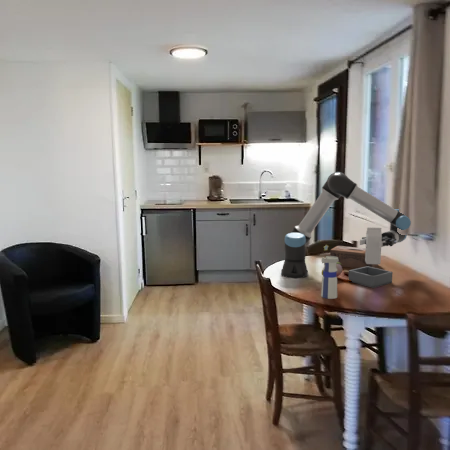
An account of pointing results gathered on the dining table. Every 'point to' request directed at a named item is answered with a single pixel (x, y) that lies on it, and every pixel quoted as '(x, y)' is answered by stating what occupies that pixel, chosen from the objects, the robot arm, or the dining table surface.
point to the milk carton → (373, 246)
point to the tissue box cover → (351, 256)
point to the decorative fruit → (338, 269)
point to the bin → (370, 276)
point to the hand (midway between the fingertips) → (369, 243)
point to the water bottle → (329, 277)
